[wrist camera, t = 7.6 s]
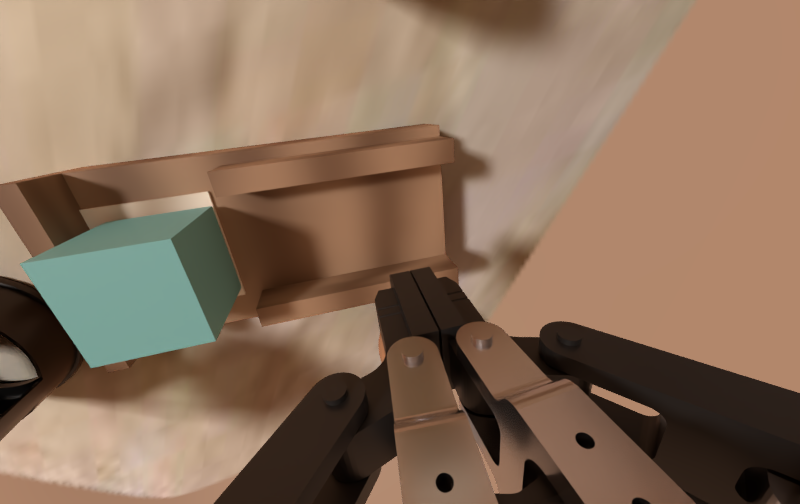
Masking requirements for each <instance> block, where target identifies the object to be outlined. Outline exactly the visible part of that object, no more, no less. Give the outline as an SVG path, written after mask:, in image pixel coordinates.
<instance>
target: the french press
mask: <svg viewBox="0 0 800 504" xmlns="http://www.w3.org/2000/svg"><path fill="white" fill-rule="evenodd" d="M0 334H1V335H2V336H4V337H5V338H7V339H8V340H9V341H11V342H12V343H14V344H15V345H16V346H18V347H19V348H20V349H21V350H22V351H23V352H24V353H25V354H26V355H27V356H28V358H29V359H30V361H31V362H32V364H33V365H34V367H35V369H36V372H37V375H38V377H36V378H34V379H31V380H27V381H24V382H18V383H8V384H0V441H1V440H2V439H3V438H4V437H5V436H6V435H7V434H8V433H9V432H10V431H11V430H12V429H13V428H14V427H15V426H16V425H17V424H18V423H19V422H20V421H21V420H22V419H23V418H25V417H26V416H27V415H28V414H30V413H31V412H32V411H33V410H34V409H35V408H36V407H37V406H38V405H39V404H40V403H41V402H42V401H43V400H44V399H45V398H46V397H47V396H48V395H49V394H50V393H51V392H52V391H53V390H54V389H55V388H57V387H59V386H60V385H62V384H63V383H65V382H66V381H67V380H68V379H69V378H71V377H72V376H73V375H74V374H75V372H76V371H77V370H78V368H79V367H80V365H81V363H82V360H83V358H84V357H83V356H82V354H81V353H80V351H79V350H78V348H77V347H76V345H75V344H74V342H73V341H72V340H71V338H70V337H69V335H68V334H67V332H66V331H65V329H64V328H63V326H62V325H61V323H60V322H59V321H58V319H57V318H56V316H55V315H54V313H53V312H52V310H51V309H50V307H49V306H48V304H47V303H46V302H45V300H44V299H43V297H42V296H41V294H40V293H39V291H38V290H36V289H34V288H32V287H29V286H27V285H25V284H22V283H20V282H16V281H13V280H9V279H6V278H2V277H0Z"/></svg>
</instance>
